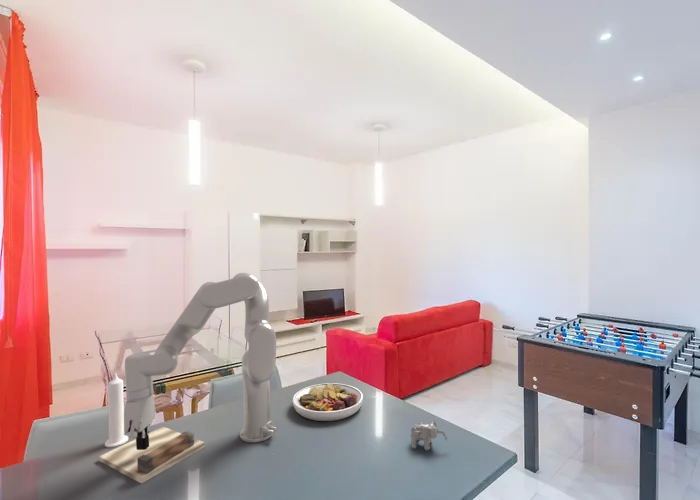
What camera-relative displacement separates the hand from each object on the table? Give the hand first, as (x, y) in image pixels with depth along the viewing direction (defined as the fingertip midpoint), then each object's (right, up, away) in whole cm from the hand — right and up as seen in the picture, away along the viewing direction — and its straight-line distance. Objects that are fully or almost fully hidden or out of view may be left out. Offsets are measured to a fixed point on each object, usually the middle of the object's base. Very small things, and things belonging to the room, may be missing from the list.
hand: (142, 448), depth 115 cm
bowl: (+58, -4, +38) cm, 69 cm away
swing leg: (+8, -2, 0) cm, 9 cm away
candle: (-17, -5, +12) cm, 21 cm away
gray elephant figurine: (+94, -3, +7) cm, 94 cm away
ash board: (+1, -4, +5) cm, 6 cm away
